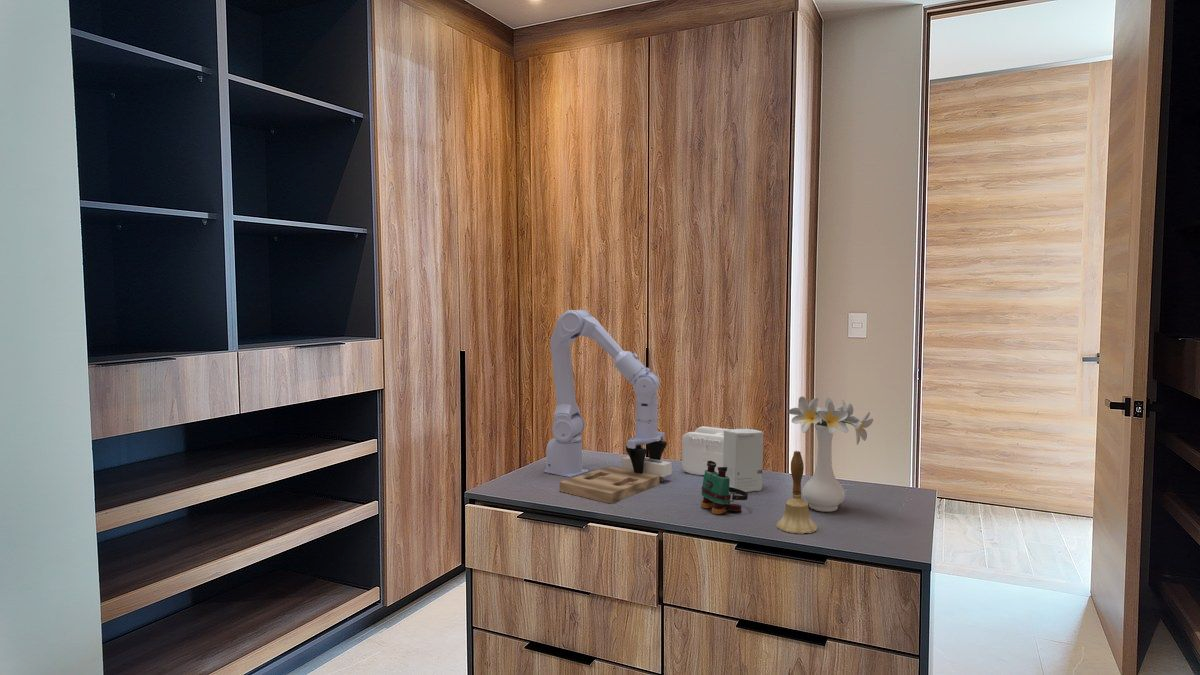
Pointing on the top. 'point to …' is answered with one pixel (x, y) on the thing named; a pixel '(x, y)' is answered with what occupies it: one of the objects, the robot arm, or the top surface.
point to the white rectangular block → (650, 467)
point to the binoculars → (719, 490)
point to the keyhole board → (609, 484)
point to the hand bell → (797, 504)
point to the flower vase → (826, 448)
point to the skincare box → (743, 458)
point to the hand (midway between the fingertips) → (646, 471)
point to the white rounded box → (702, 449)
